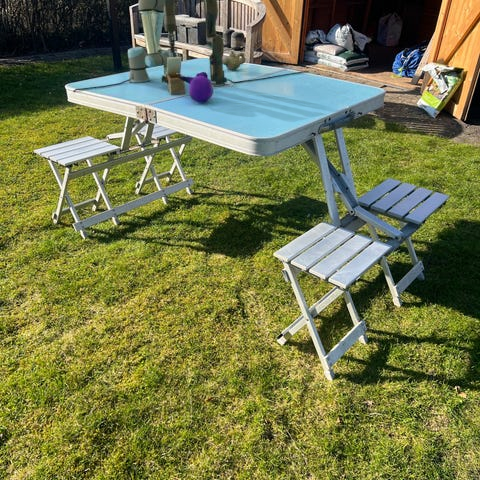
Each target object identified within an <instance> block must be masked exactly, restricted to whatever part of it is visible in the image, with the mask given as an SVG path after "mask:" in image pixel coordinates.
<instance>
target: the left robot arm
mask: <svg viewBox="0 0 480 480" xmlns="http://www.w3.org/2000/svg"><path fill="white" fill-rule="evenodd" d="M137 4H138V6H137V7H138V13H139V14H140V17H141V22H142V23H141V24H142V29H143V34H144V39H145V40H144V41H145V45H144V47H143V46H134V47H131V48H129V49H127V57H128V66H129V76H128V79H127V80H123V81H121V82H118V83H111V84H106V85H99V86H89V87H83V88H82V87H81V88H75V89H73V92H72V93H76V91H84V90H91V89H100V88H107V87H113V86H118V85H122V84H125V83H127V82H129V83H133V84H141V83H148V82H150V76H149V74H148V71H147V67H148V68H155V67H160V66H161V67H162V66H163V75H162V76H161V83H164V84H167V85H168V79H167V58H169V52H168V49H164V50H163V49H162V47H161V45H160V44H161V36H162V31H163V30H162V29H163V24H164V11H163V7H164V5H165V0H138V3H137ZM170 56H171V57H174V53H172V52H170ZM175 74H177V73H175ZM181 75H182V76H183V77H186V76H185V75H183V74H181Z"/></svg>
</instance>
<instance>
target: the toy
mask: <svg viewBox="0 0 480 480" xmlns="http://www.w3.org/2000/svg"><path fill="white" fill-rule="evenodd" d="M178 78H179V79H181V80H183V81H184V83H187V84H189V85H188V92H189V96H190V98H191V99H192V100H193V101H194V102H196V103H200V104H201V103H202V104H204V103H206V102H208V101H209V100H210V99H211V98H212V97H213V95H214V86H213V85H212V83H211V80H210V78H209V76H208V73H207V72H206V71H201V72H198V73H196V75H195V76H194V77H192V76H185V77H178Z"/></svg>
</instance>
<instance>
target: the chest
mask: <svg viewBox="0 0 480 480" xmlns="http://www.w3.org/2000/svg"><path fill="white" fill-rule="evenodd" d="M182 75H183V74H182V73H176V74H167V79H168V84H167V89H168V92H169V94H170V95H171V96H177V95H186V87H185V81H183V80H181V79H179V78H178V77H183V76H184V75H183V76H182Z"/></svg>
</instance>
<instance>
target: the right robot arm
mask: <svg viewBox="0 0 480 480" xmlns="http://www.w3.org/2000/svg"><path fill="white" fill-rule="evenodd" d="M175 2H176V0H165V5H164V7H163V11H164V18H163V24H164V32H166V33H167V32H168V34H167V37H168V42H169V43H168V44H169V47H170V48H169V49H171V52H172V53H173V54H174V53H176V52H175V49H174V48H175V46H176V43H175V42H176V40H175V38H176V34H174V32H177V30H178V29H177V28H178V27H177V18H176V11H175V4H176V3H175ZM202 2H203V11H204V19H205V33H206V34H205V39H206V45H207V46H208V48H210V49H211V53H210V54H209V57H208V58H209V75H210V78H209V80H210V81H211V83H212V85H213V87H222V86H225V84H226V83H228V82H230V83H232V84H240V83H246V82H255V81H261V80H268V79H274V78H278V77H279V78H280V77H285V76H290V75H298V74H304V73H310V71H309V70H306V71H297V72H289V73H283V74H279V75H272V76H267V77H261V78H260V77H259V78H253V79H245V80H240V81H233V80H231V79H229V78H228V77H225V70H224V64H223V58H224V52H225V49H224V48H225V46H224V45H225V44H224V38H223V36H221V35H220V34H217V26H216V25H217V20H218V17H219V3H218V0H203V1H202Z"/></svg>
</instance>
